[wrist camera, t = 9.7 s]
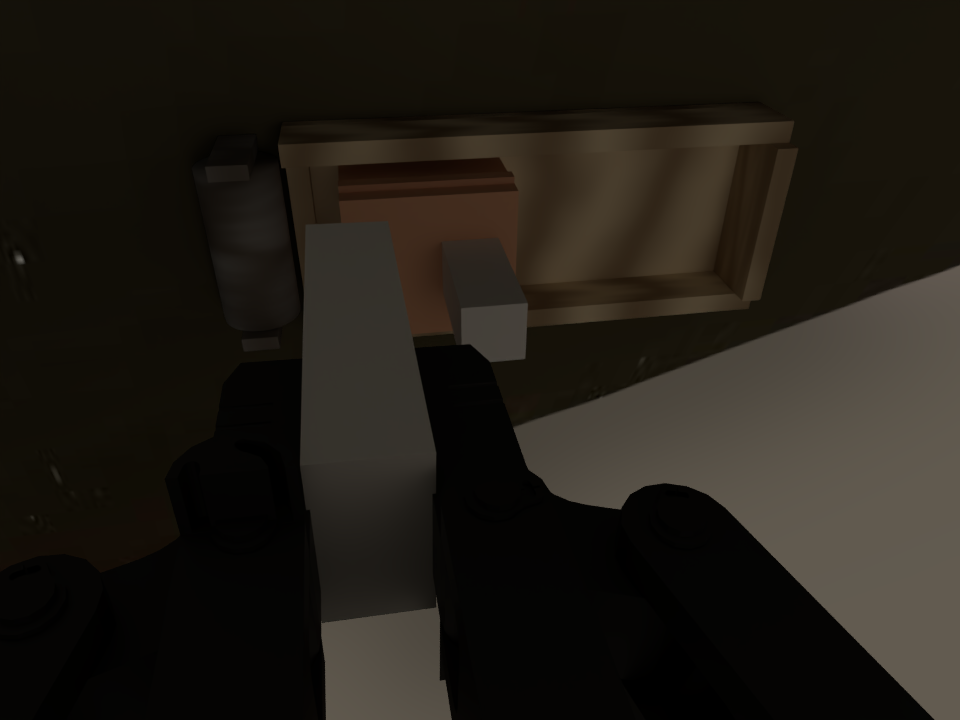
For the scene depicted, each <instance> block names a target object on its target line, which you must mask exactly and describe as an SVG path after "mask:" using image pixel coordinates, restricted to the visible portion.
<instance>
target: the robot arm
mask: <svg viewBox="0 0 960 720" xmlns="http://www.w3.org/2000/svg"><path fill="white" fill-rule="evenodd" d="M165 481H166V485H167V488H168V492H169V496H170V499H171V503H172V506H173V510H174V513H175V517H176V521H177V524H178V528H179V531H180V536H179V537H178V538H177V539H176V540H175V541H173V542H172V543H170V544H169V545H167V546H165V547H164V548H162V549H161V550H159V551H157V552H155V553H153V554H150V555H148V556H146V557H144V558H141V559H139V560H136V561H133V562H130V563H128V564H125V565H122V566H119V567H116V568H114V569H111V570H108V571H105V572H102V573H100V572H99V571H98V570H97V569H96V568H95V567H94V566H92V565H91V564H90V563H89V562H88V561H87V560H86V559H82V558H78V557H74V556H69V555H65V554H62V555H50V556H38V557H35V558H32V559H29V560H26V561H23V562H20V563H18V564H15V565H12V566H9V567H8V568H6V569H4V570H3V571H1V572H0V720H326V703H325V660H324V653H323V646H322V639H321V621H322V623H325V622H331V621H339V620H347V619H354V618H362V617H368V616H376V615H384V614H390V613H398V612H406V611H413V610H420V609H428V608H435V607H436V597H437V603H438V608H439V615H440V680H446V686H447V692H448V698H449V705H450V711H451V717H452V720H934V719H933V718H932V717H931V716H930V715H929V714H928V713H927V712H926V711H925V710H924V709H923V708H922V707H921V706H920V705H919V704H918V703H917V702H916V701H915V700H914V699H913V698H912V697H911V695H910V694H909V693H907V691H906V690H904V688H903V687H902V686H900V685H899V683H898V682H897V681H896V680H895V679H894V678H893V677H892V676H891V675H890V674H889V673H888V672H887V671H886V670H885V669H884V668H883V667H882V666H881V665H880V664H879V663H878V662H877V661H876V660H875V659H874V658H873V657H872V656H871V655H870V654H869V653H868V652H867V651H866V650H865V649H864V648H863V647H862V646H861V645H860V644H859V643H858V642H857V641H856V640H855V639H854V638H853V637H852V636H851V635H850V634H849V633H848V632H847V631H846V630H845V629H844V628H843V627H842V626H841V625H840V624H839V623H838V622H837V621H836V620H835V619H834V618H833V617H832V616H831V615H830V614H829V613H828V612H827V611H826V610H825V608H823V607H822V606H821V604H819V602H817V600H815V598H814V597H813V596H812V595H811V594H810V593H809V592H807V590H806V589H805V588H804V587H803V586H802V585H801V584H800V583H799V582H798V581H797V580H796V579H795V578H794V577H793V576H792V575H791V574H790V573H789V572H788V571H787V570H786V569H785V568H784V567H783V566H782V565H781V564H780V563H779V562H778V561H777V560H776V559H775V558H774V557H773V556H772V555H771V554H770V553H769V552H768V551H767V550H766V549H765V548H764V547H763V546H762V545H761V544H760V543H759V542H758V541H757V540H756V539H755V538H754V537H753V536H752V535H751V534H750V533H749V532H748V531H747V530H746V529H745V528H744V527H743V526H742V525H741V524H740V523H739V521H738V520H737V519H736V518H735V517H734V516H732V514H731V513H730V512H729V511H728V510H727V509H726V508H725V507H723V506H722V505H721V504H719V503H718V502H717V501H715V500H714V499H713V498H711V497H710V496H709V495H707V494H704V493H702V492H700V491H697V490H695V489H692V488H690V487H687V486H681V485H674V484H666V483H664V484H657V485H650V486H645V487H643V488H641V489H639V490H638V491H636V492H634V493H632V494H630V496H629V497H628V499H627V500H626V502H625V503H624V505H623V506H622V509H621V510H619V509H612V508H604V507H598V506H591V505H584V504H580V503H576V502H571V501H568V500H566V499H563V498H561V497H559V496H556V495H554V494H552V493H551V492H550V491H549V489H548V488H547V486H546V485H545V483H544V482H543V480H542V479H541V478H539V477H538V476H537V475H535V474H534V473H532V472H531V471H529V470H528V468H527V466H526V463H525V461H524V458H523V455H522V452H521V449H520V447H519V444H518V441H517V438H516V435H515V432H514V429H513V427H512V424H511V421H510V418H509V415H508V412H507V410H506V407H505V404H504V403H503V398H502V396H501V393H500V390H499V387H498V386H497V381H496V379H495V376H494V373H493V370H492V367H491V364H490V362H489V360H488V359H486V358H485V357H484V356H483V355H482V354H481V353H480V352H479V351H477V350H476V349H475V348H474V347H473V346H472V345H471V344H464V345H450V346H436V347H423V348H414V344H413V339H412V334H411V329H410V324H409V320H408V315H407V310H406V305H405V300H404V296H403V291H402V286H401V281H400V276H399V272H398V267H397V262H396V257H395V252H394V248H393V243H392V238H391V233H390V228H389V224H388V221H379V222H356V223H332V224H309V225H306V232H305V274H304V316H303V358H302V359H290V360H276V361H262V362H249V363H241V364H240V365H239V366H238V367H237V368H236V369H235V371H234V372H233V373H232V374H231V375H230V377H229V378H228V379H227V380H226V381H225V382H224V384H223V388H222V393H221V399H220V405H219V412H218V416H217V422H216V431H215V433H214V437H213V438H210V439H208V440H206V441H204V442H202V443H200V444H198V445H195V446H193V447H191V448H190V449H189V450H187V451H186V452H185V453H184V454H183V455H182V456H180V457H179V458H178V459H177V460H176V461H175V462H174V463H173V465H172V467H171V468H170V470H169V472H168V474H167V476H166V478H165Z"/></svg>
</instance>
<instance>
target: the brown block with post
mask: <svg viewBox="0 0 960 720" xmlns="http://www.w3.org/2000/svg"><path fill="white" fill-rule="evenodd" d="M338 178H339V181H338V190H339V206H340V215H341V223H356V222H379V221H388V224H389V228H390V233H391V238H392V243H393V248H394V252H395V257H396V262H397V267H398V272H399V276H400V281H401V286H402V291H403V296H404V300H405V305H406V310H407V315H408V320H409V324H410V329H411V334H421V333H433V332H445V331H453V333H454V337H455V340H456V344H457V345H464V344H471V345H472V346H473V347H474V348H475V349H476V350H477V351H479V352H480V353H481V354H482V355H483V356H484V357H485V358H486V359H488V360H489V362H496V361H507V360H518V359H525V351H526V330H527V310H528V302H527V300H526V298H525V296H524V293H523V291H522V289H521V287H520V285H519V282H518V280H517V278H516V254H517V227H518V200H519V190H518V189H517V187H516V185H515V183H514V180H515V177H514V175H513V173H512V171H510V172H508V171H507V170H506V168H505V166H504V164H503V163H502V161H501V159H500V157H494V158H474V159H454V160H434V161H414V162H394V163H375V164H355V165H338Z"/></svg>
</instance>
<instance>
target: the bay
mask: <svg viewBox="0 0 960 720" xmlns="http://www.w3.org/2000/svg"><path fill="white" fill-rule="evenodd" d="M793 125H794V121H793V120H792V119H790V118H788V117H786V116H784V115H783V114H781V113H779V112H777V111H775V110H773V109H772V108H770V107H768V106H766V105H764V104H763V103H761V102H749V103H725V104H701V105H677V106H654V107H630V108H606V109H582V110H558V111H534V112H510V113H486V114H462V115H438V116H414V117H390V118H366V119H342V120H318V121H294V122H282V126H281V131H280V136H279V141H278V149H279V156H280V163H281V168H286V173H287V180H288V187H289V193H290V200H291V207H292V214H293V220H294V227H295V234H296V241H297V247H298V254H299V261H300V268H301V274H302V281H303V288H304V274H305V232H306V225H309V224H332V223H341V215H340V206H339V190H338V181H339V178H338V165H355V164H375V163H394V162H414V161H434V160H454V159H474V158H494V157H500V159H501V161H502V163H503V164H504V166H505V168H506V170H507V171H508V172H510V171H512V173H513V175H514V177H515V180H514V183H515V185H516V187H517V189H518V190H519V200H518V227H517V254H516V278H517V280H518V282H519V285H520V287H521V289H522V291H523V293H524V296H525V298H526V300H527V302H528V310H527V327H535V326H547V325H559V324H571V323H582V322H594V321H606V320H618V319H630V318H642V317H654V316H665V315H677V314H689V313H701V312H713V311H725V310H736V309H748V308H749V305H750V301H752V300H760V298H761V294H762V290H763V286H764V282H765V278H766V274H767V270H768V267H769V263H770V259H771V255H772V251H773V247H774V243H775V239H776V235H777V231H778V227H779V223H780V219H781V215H782V211H783V207H784V203H785V199H786V196H787V192H788V188H789V184H790V180H791V176H792V172H793V168H794V164H795V160H796V156H797V152H798V148H797V147H796V146H794V145H792V144H791V143H789V141H790V137H791V133H792V129H793ZM192 172H193V177H194V181H195V186H196V190H197V195H198V199H199V204H200V208H201V213H202V217H203V222H204V226H205V231H206V235H207V240H208V244H209V249H210V253H211V258H212V262H213V267H214V271H215V276H216V280H217V285H218V289H219V294H220V298H221V303H222V307H223V312H224V316H225V320H226V322H227V323H228V324H229V325H230V326H232V327H233V328H236V329H239V330H243V335H242V344H243V349H244V351H256V350H268V349H280V343H281V334H282V326H284V325H286V324H288V323H290V322H291V321H293V320H294V319H295V318H296V317H297V316H298V315H299V313H300V311H301V306H300V299H299V293H298V286H297V279H296V273H295V266H294V260H293V253H292V247H291V240H290V234H289V227H288V221H287V214H286V208H285V201H284V195H283V188H282V182H281V175H280V169H279V162H278V159H277V158H276V157H275V156H273V155H270V154H267V153H262V152H258V144H257V138H256V134H250V135H227V136H218V137H217V140H216V142H215V144H214V147H213V149H212V151H211V154H210V156H209V157H206V158H204V159H202V160H200V161H198V162H196V163H195V164H194V165H193V166H192ZM452 333H453V331H445V332H433V333H421V334H412V337H417V336H428V335H440V334H452Z"/></svg>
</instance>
